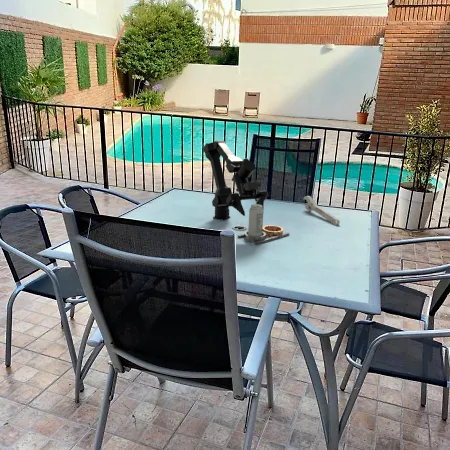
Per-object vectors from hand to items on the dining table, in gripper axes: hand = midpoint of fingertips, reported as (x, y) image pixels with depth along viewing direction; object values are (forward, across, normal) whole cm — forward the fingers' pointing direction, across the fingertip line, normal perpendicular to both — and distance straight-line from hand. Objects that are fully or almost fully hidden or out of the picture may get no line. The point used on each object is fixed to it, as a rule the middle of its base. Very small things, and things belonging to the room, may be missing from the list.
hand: (253, 214), depth 184 cm
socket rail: (+8, +6, +7) cm, 12 cm away
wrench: (-3, +49, +18) cm, 52 cm away
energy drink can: (+9, 0, +6) cm, 11 cm away
